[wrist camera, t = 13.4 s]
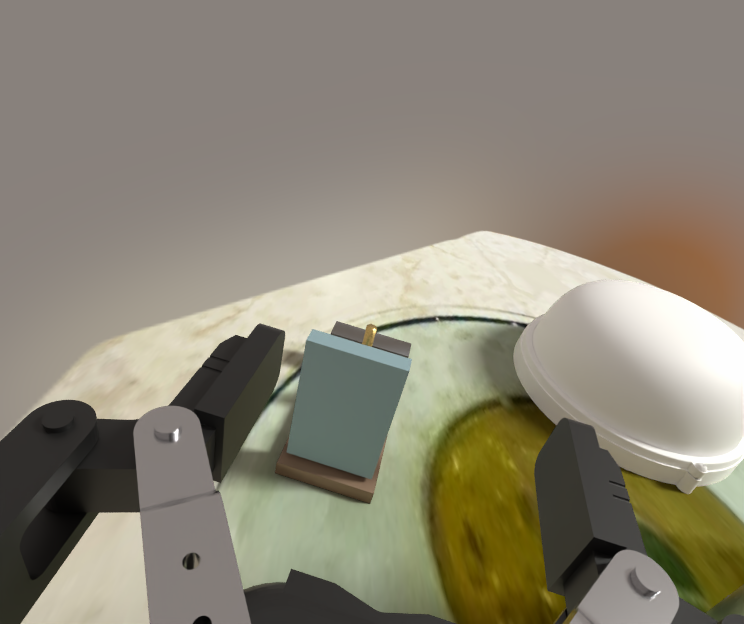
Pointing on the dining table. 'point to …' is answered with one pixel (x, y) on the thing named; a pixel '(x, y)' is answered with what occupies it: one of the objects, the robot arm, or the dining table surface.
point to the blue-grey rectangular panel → (345, 403)
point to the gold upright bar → (369, 335)
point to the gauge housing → (327, 474)
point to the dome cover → (641, 379)
